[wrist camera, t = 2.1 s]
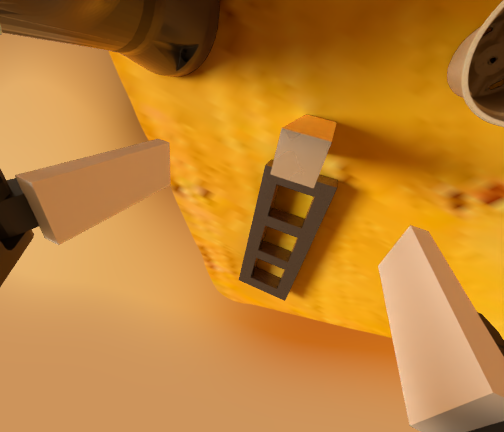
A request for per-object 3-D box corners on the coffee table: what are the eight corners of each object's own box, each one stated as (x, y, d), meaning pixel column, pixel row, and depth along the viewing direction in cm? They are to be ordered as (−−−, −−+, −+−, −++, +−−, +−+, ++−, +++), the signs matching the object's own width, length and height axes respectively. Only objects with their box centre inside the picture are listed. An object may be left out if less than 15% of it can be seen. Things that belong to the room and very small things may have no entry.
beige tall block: (305, 114, 27) (281, 128, 17) (336, 122, 26) (332, 141, 16) (296, 145, 29) (270, 174, 19) (324, 153, 29) (313, 188, 18)
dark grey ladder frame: (271, 159, 32) (265, 164, 29) (337, 180, 30) (337, 187, 27) (244, 270, 46) (238, 280, 43) (288, 289, 44) (284, 300, 41)
